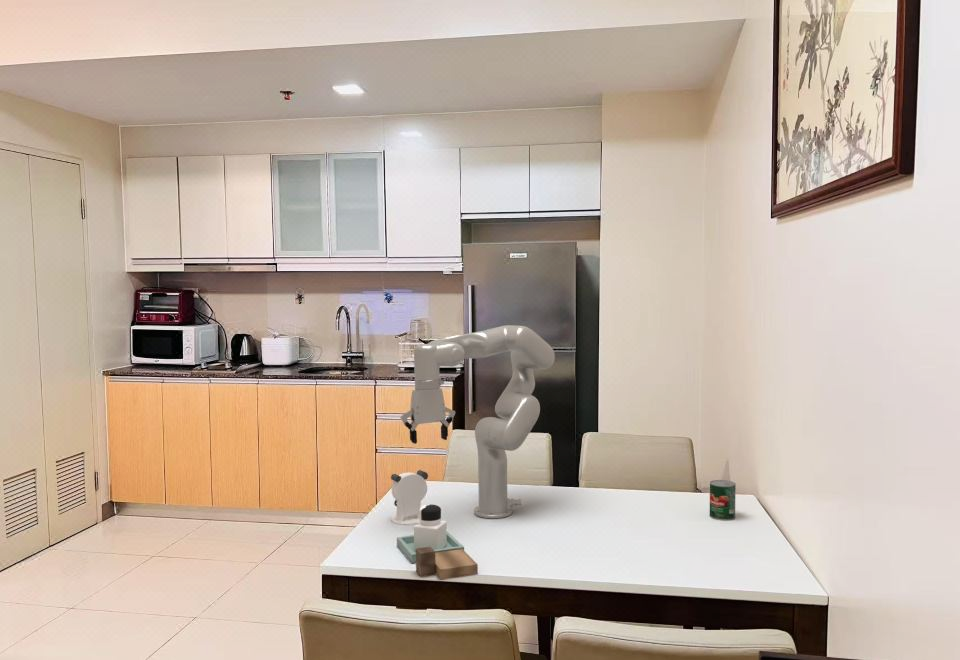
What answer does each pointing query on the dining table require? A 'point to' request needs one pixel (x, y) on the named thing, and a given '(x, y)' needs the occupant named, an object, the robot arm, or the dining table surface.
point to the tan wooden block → (454, 564)
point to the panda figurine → (408, 496)
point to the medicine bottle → (430, 528)
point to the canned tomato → (722, 500)
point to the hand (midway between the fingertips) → (429, 441)
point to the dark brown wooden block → (425, 561)
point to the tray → (408, 550)
